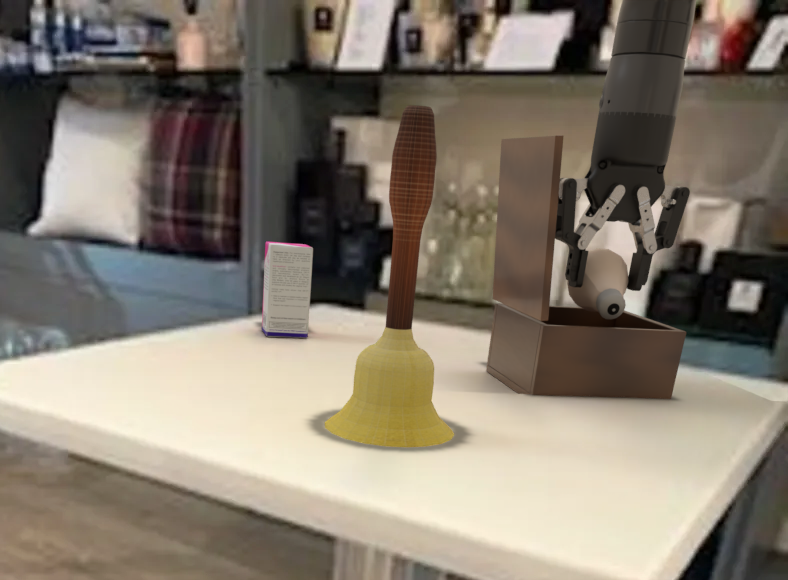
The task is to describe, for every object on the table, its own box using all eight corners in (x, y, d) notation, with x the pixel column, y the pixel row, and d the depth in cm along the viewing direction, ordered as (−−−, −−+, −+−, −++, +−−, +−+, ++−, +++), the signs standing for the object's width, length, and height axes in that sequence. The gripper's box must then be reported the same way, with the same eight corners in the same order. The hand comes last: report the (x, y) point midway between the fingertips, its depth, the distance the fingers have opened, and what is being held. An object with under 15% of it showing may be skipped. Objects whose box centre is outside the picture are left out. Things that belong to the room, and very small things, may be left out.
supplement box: (309, 338, 117) (313, 246, 112) (265, 337, 116) (267, 244, 111) (303, 331, 122) (306, 242, 117) (260, 329, 121) (262, 240, 116)
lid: (508, 138, 94) (501, 138, 94) (563, 135, 80) (555, 135, 80) (499, 298, 101) (492, 299, 101) (548, 320, 87) (540, 321, 87)
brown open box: (607, 375, 107) (620, 308, 104) (669, 406, 94) (686, 331, 90) (485, 371, 105) (495, 303, 101) (531, 403, 91) (543, 325, 88)
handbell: (432, 469, 68) (475, 101, 57) (292, 441, 72) (306, 95, 61) (477, 434, 78) (521, 116, 67) (352, 412, 83) (374, 110, 72)
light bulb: (650, 274, 88) (623, 235, 96) (583, 283, 88) (563, 242, 97) (643, 336, 92) (618, 293, 100) (579, 343, 93) (560, 300, 101)
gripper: (585, 103, 83) (554, 289, 90) (724, 116, 85) (683, 296, 92) (555, 107, 89) (529, 281, 97) (684, 119, 92) (649, 287, 99)
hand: (604, 287), depth 94 cm, fingers closed on light bulb, 6 cm apart
